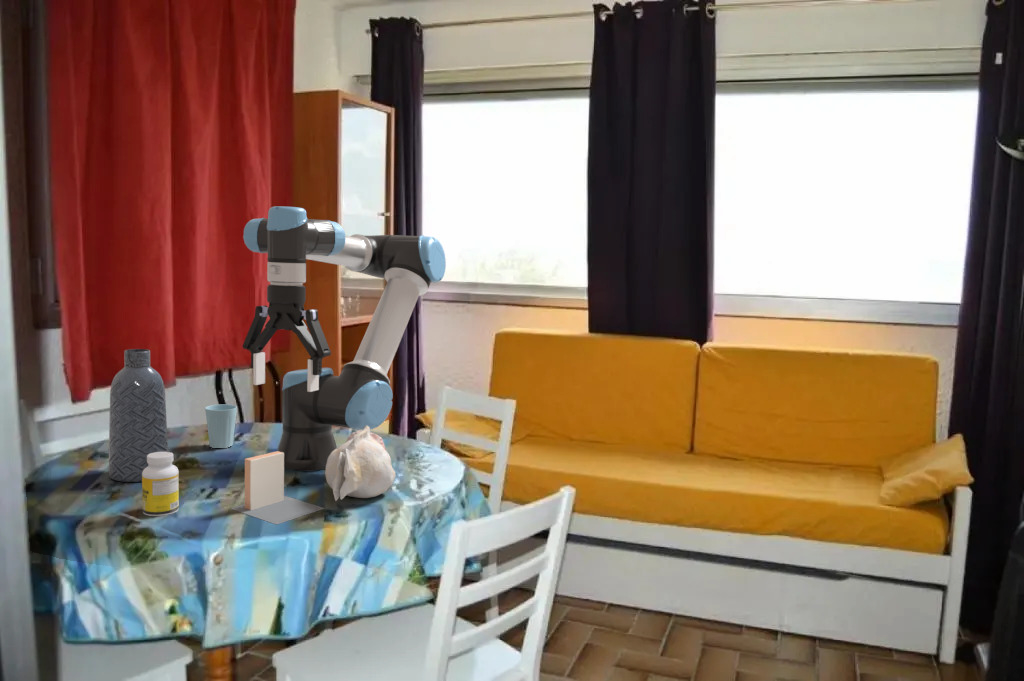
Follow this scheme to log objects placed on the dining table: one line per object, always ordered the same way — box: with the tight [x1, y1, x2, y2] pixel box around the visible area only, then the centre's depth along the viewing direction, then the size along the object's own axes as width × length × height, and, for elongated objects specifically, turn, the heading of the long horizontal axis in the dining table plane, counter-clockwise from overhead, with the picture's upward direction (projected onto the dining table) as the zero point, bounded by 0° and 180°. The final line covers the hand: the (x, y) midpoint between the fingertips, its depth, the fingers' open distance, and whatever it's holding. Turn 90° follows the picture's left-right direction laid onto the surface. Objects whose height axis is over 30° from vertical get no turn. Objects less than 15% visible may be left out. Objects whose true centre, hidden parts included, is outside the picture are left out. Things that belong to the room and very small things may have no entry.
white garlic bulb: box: [324, 425, 397, 502], centre depth 164 cm, size 16×19×15 cm
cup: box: [204, 403, 238, 449], centre depth 200 cm, size 8×8×10 cm
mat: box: [229, 495, 326, 526], centre depth 154 cm, size 14×12×1 cm
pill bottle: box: [141, 451, 180, 517], centre depth 150 cm, size 6×6×12 cm
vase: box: [108, 348, 169, 483], centre depth 173 cm, size 12×12×28 cm
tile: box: [244, 451, 285, 510], centre depth 156 cm, size 2×8×10 cm, turn 146°
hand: (285, 387), depth 159 cm, fingers open, 13 cm apart
